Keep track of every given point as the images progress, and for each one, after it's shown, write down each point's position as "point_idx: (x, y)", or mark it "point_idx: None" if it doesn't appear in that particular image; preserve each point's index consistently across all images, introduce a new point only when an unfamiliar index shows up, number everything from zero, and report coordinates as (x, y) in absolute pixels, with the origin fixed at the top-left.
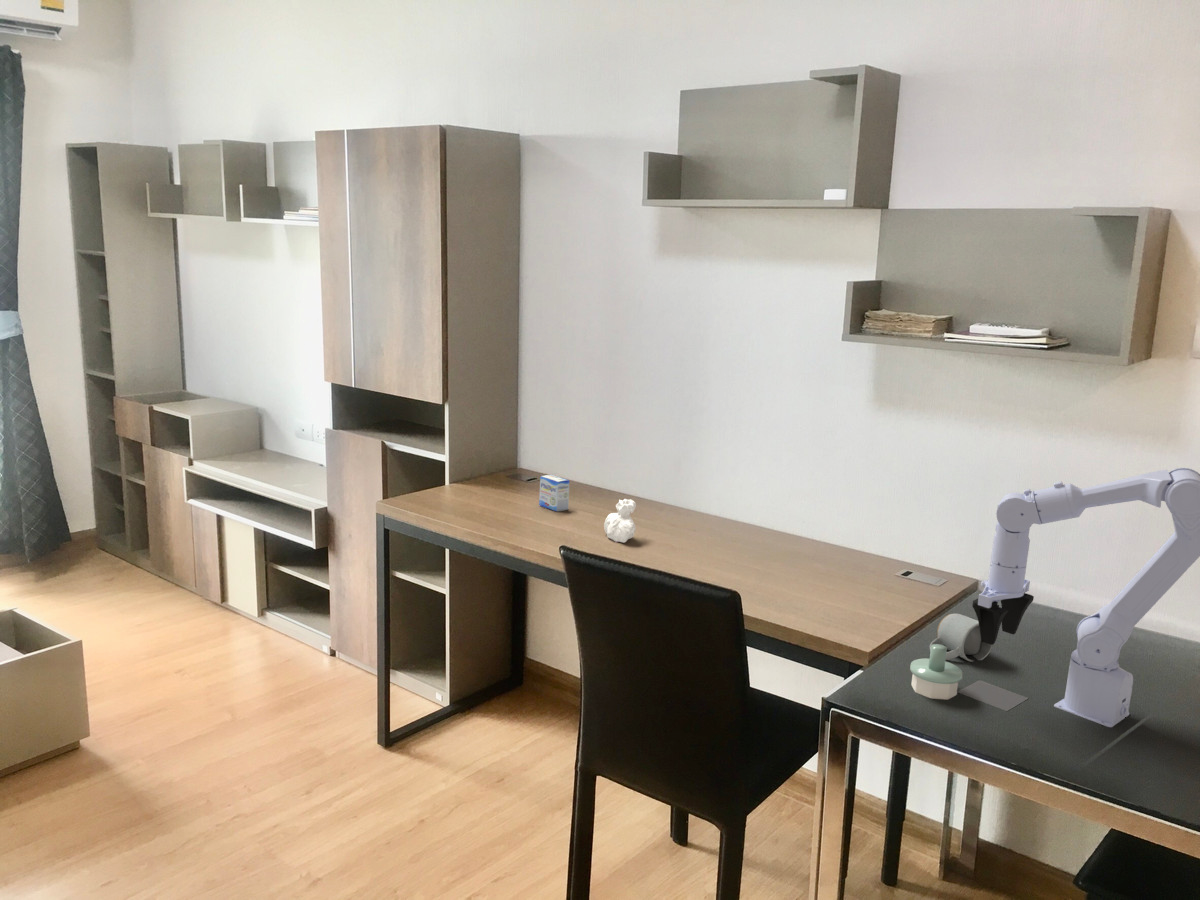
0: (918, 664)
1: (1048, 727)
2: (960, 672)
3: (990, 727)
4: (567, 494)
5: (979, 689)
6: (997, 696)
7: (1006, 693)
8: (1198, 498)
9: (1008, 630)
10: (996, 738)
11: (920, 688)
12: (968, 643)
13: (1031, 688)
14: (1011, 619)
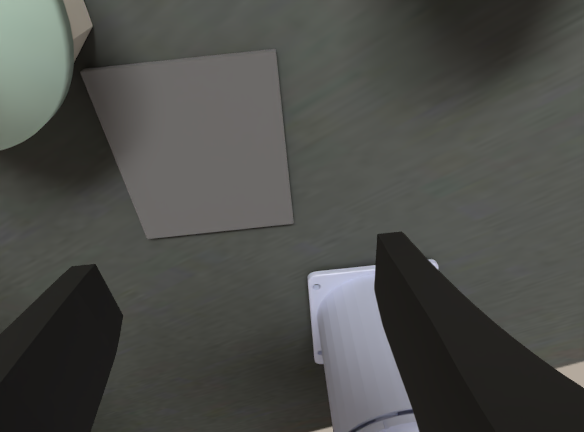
0: None
1: (194, 310)
2: (29, 123)
3: (30, 256)
4: None
5: (194, 107)
6: (208, 173)
7: (260, 174)
8: None
9: (378, 277)
10: (4, 291)
11: None
12: None
13: (390, 178)
14: (406, 354)
